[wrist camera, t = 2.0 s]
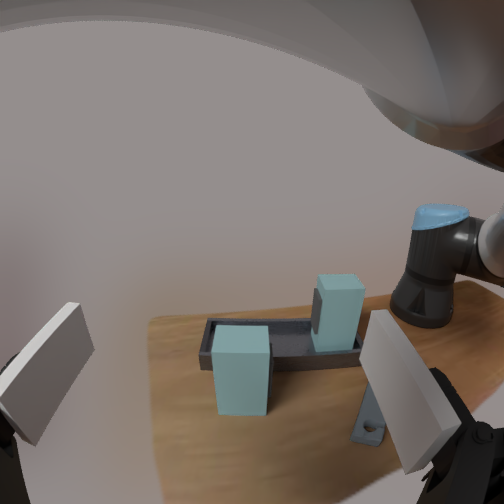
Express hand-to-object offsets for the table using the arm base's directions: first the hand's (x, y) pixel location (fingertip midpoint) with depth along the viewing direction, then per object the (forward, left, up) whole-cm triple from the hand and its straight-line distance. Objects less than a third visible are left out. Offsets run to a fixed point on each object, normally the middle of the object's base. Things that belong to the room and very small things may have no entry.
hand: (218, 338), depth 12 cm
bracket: (-17, -12, -23) cm, 31 cm away
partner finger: (-14, -27, -21) cm, 37 cm away
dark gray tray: (-6, -27, -23) cm, 36 cm away
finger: (0, -16, -23) cm, 28 cm away
